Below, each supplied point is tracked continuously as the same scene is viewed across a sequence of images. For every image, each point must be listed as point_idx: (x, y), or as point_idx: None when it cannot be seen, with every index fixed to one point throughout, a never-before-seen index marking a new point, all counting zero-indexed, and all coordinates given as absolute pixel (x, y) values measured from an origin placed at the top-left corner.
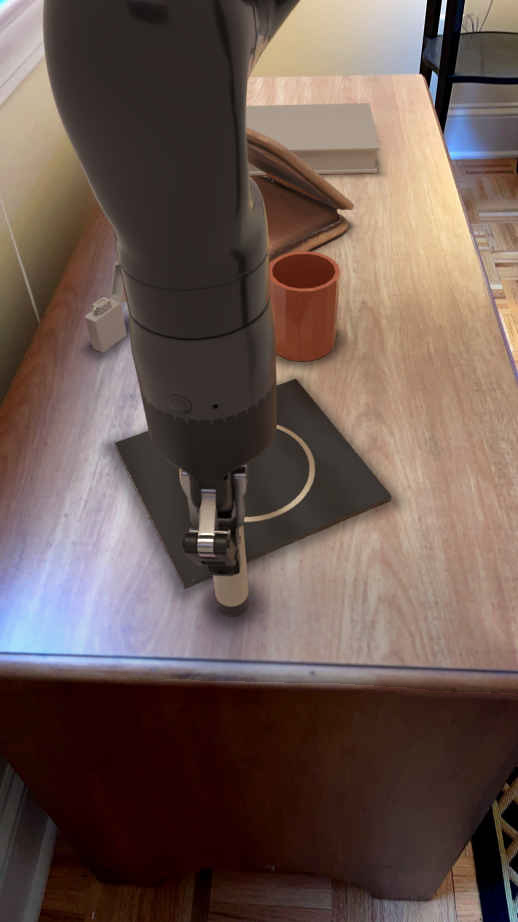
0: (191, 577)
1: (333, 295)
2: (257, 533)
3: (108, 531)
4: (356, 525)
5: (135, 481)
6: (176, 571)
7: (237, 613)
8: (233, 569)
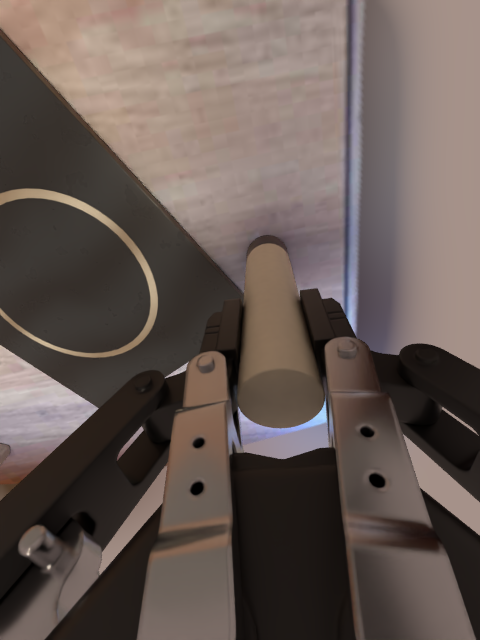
0: None
1: None
2: (162, 250)
3: None
4: (78, 87)
5: None
6: None
7: (285, 247)
8: (326, 304)
